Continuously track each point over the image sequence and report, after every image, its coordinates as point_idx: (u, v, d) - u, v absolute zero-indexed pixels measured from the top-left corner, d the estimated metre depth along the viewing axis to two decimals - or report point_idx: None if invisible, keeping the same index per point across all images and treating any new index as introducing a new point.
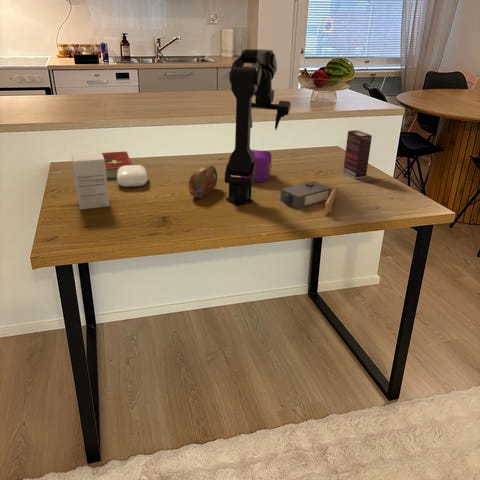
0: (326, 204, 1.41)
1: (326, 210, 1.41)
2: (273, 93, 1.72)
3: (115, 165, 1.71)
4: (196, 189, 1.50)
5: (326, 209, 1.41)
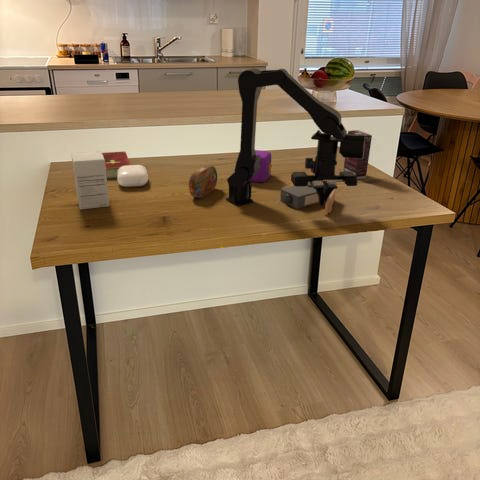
0: (326, 204, 1.40)
1: (326, 210, 1.41)
2: None
3: (113, 165, 1.70)
4: (196, 189, 1.50)
5: (326, 209, 1.41)
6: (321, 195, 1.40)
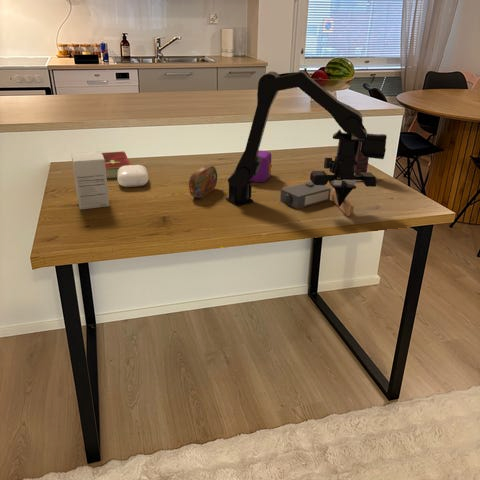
0: (349, 205, 1.40)
1: (349, 211, 1.41)
2: None
3: (113, 165, 1.70)
4: (196, 189, 1.50)
5: (349, 210, 1.41)
6: (340, 195, 1.40)
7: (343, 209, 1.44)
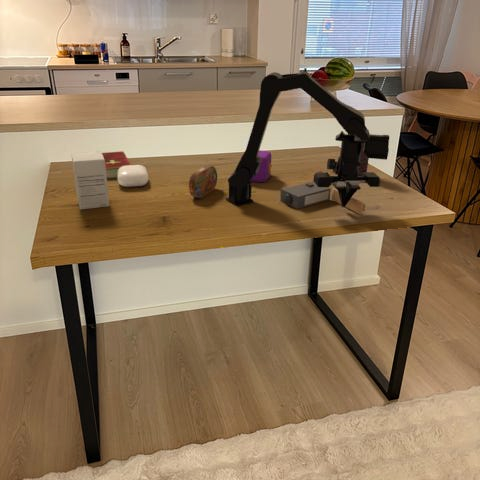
0: (362, 204, 1.41)
1: (361, 209, 1.42)
2: None
3: (114, 165, 1.70)
4: (196, 189, 1.50)
5: (362, 209, 1.42)
6: (343, 196, 1.41)
7: (353, 208, 1.45)
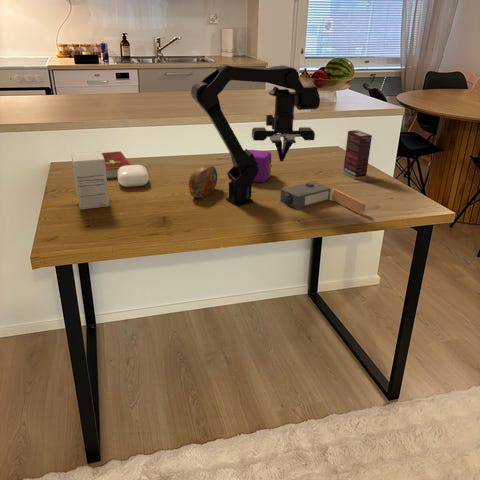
0: (362, 204, 1.41)
1: (362, 209, 1.42)
2: None
3: (114, 165, 1.71)
4: (196, 189, 1.50)
5: (362, 209, 1.42)
6: (280, 150, 1.46)
7: (353, 208, 1.45)
